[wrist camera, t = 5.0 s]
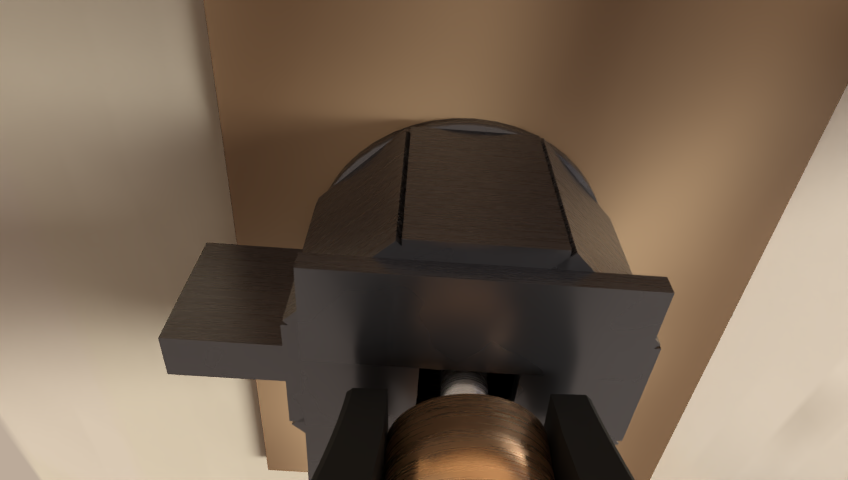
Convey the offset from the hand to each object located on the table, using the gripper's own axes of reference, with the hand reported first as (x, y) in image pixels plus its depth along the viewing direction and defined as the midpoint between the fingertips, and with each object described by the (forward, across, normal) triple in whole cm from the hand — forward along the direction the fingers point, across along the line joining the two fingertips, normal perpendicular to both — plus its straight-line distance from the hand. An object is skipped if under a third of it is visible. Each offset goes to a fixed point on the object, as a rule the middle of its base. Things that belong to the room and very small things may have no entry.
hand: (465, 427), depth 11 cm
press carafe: (+5, +1, 0) cm, 5 cm away
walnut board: (+6, -1, +1) cm, 6 cm away
